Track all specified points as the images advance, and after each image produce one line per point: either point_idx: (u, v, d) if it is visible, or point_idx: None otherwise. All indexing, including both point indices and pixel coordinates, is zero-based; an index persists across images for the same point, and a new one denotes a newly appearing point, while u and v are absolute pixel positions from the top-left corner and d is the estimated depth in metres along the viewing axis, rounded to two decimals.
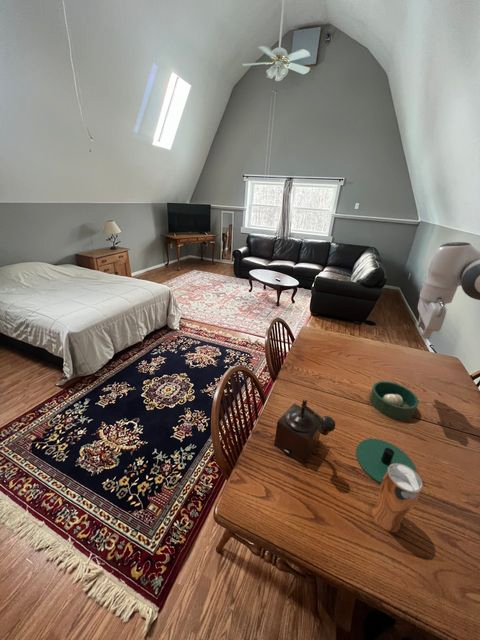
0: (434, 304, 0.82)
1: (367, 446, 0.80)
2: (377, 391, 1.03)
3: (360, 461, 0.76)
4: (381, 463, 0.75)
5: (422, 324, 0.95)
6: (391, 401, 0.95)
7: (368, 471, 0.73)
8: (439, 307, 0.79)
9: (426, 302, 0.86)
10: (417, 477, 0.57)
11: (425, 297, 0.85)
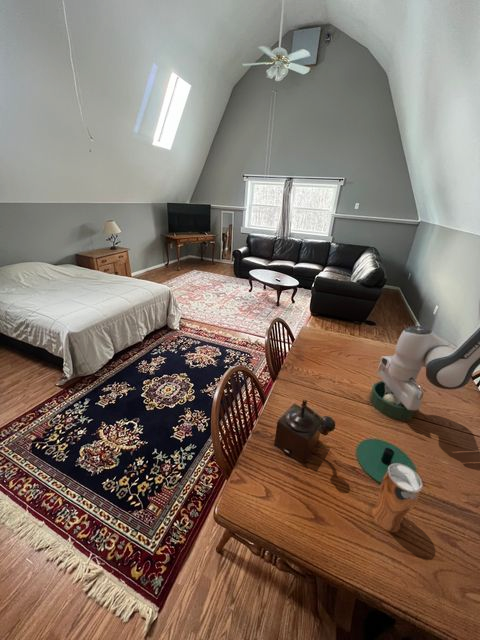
0: (410, 386, 0.87)
1: (367, 446, 0.80)
2: (377, 391, 1.03)
3: (360, 461, 0.76)
4: (381, 463, 0.75)
5: None
6: (391, 401, 0.95)
7: (368, 471, 0.73)
8: (418, 391, 0.84)
9: (398, 380, 0.91)
10: (417, 477, 0.57)
11: (398, 377, 0.90)
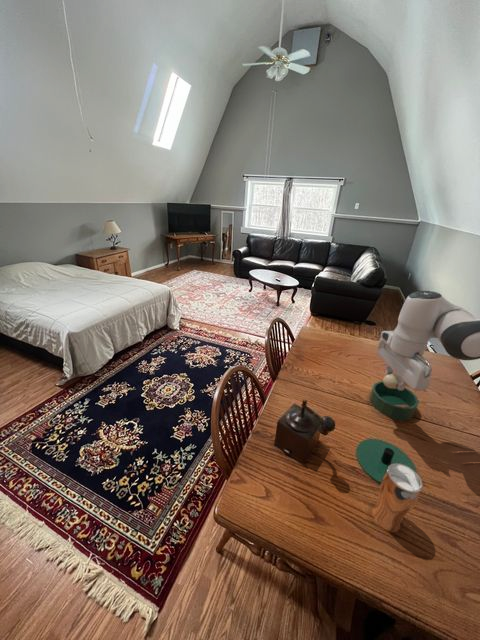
0: (416, 361, 0.73)
1: (367, 446, 0.80)
2: (377, 391, 1.03)
3: (360, 461, 0.76)
4: (381, 463, 0.75)
5: None
6: (393, 382, 0.82)
7: (368, 471, 0.73)
8: (426, 367, 0.71)
9: (401, 356, 0.78)
10: (417, 477, 0.57)
11: (402, 352, 0.76)
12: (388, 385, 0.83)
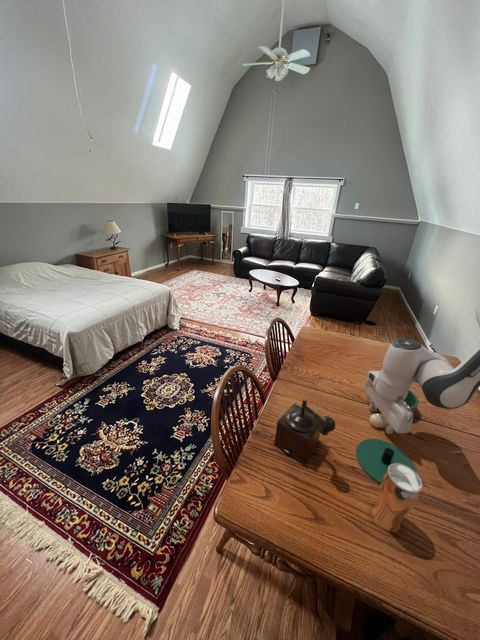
0: (398, 406, 0.78)
1: (367, 446, 0.80)
2: None
3: (360, 461, 0.76)
4: (381, 463, 0.75)
5: (375, 409, 0.92)
6: (378, 422, 0.86)
7: (368, 471, 0.73)
8: (407, 413, 0.75)
9: (385, 399, 0.82)
10: (417, 477, 0.57)
11: (386, 396, 0.80)
12: (373, 425, 0.87)
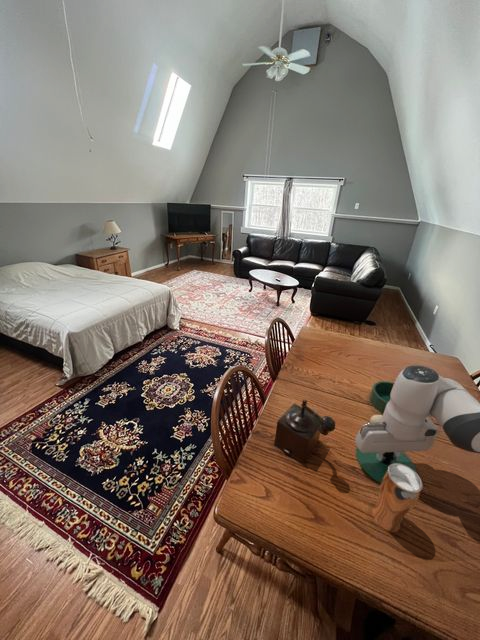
0: None
1: None
2: (377, 391, 1.03)
3: (360, 461, 0.76)
4: (381, 463, 0.75)
5: None
6: None
7: (368, 471, 0.73)
8: None
9: None
10: (417, 477, 0.57)
11: None
12: None
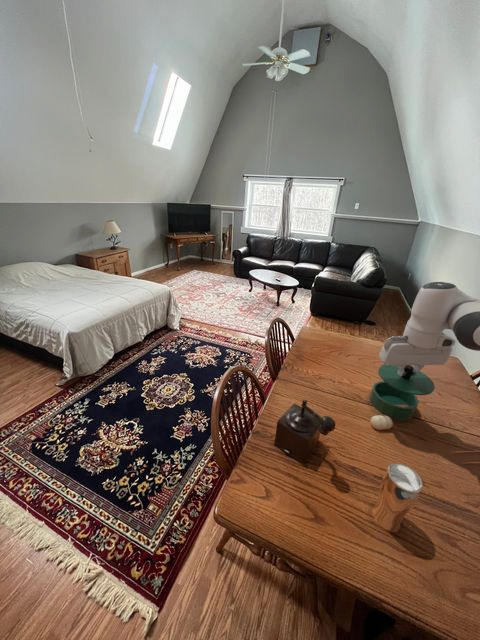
0: None
1: (388, 368, 0.89)
2: (377, 391, 1.03)
3: (383, 377, 0.84)
4: (402, 378, 0.84)
5: None
6: (379, 426, 0.86)
7: (391, 383, 0.82)
8: None
9: None
10: (417, 477, 0.57)
11: None
12: (374, 427, 0.87)
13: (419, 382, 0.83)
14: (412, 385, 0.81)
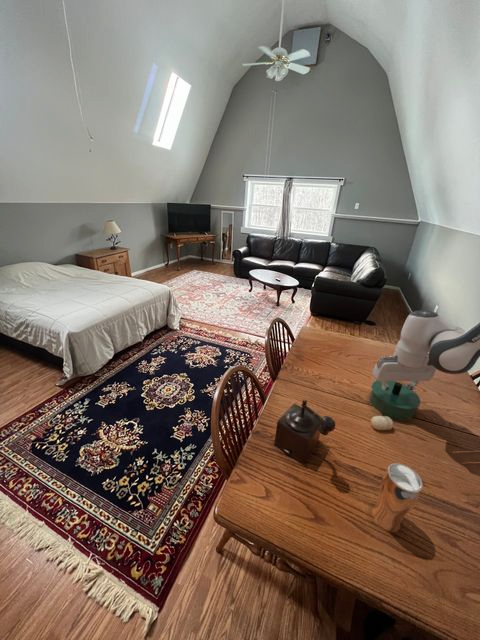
0: None
1: (380, 384, 1.00)
2: None
3: (375, 392, 0.96)
4: (392, 394, 0.95)
5: (409, 386, 0.95)
6: (379, 427, 0.86)
7: (382, 398, 0.93)
8: None
9: None
10: (417, 477, 0.57)
11: None
12: (374, 428, 0.87)
13: (407, 397, 0.94)
14: (401, 400, 0.93)
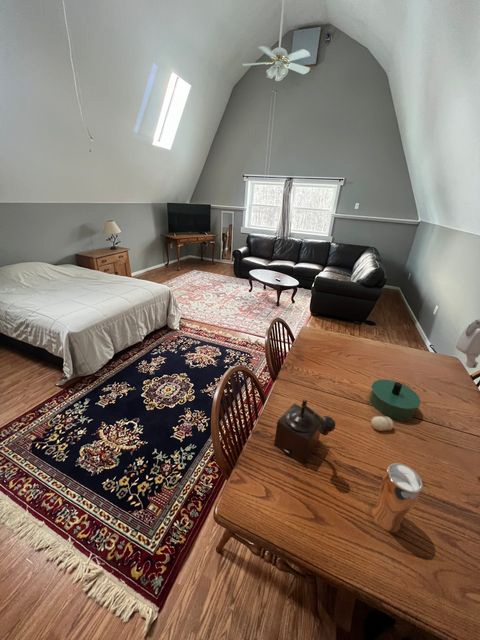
0: None
1: (380, 384, 1.00)
2: None
3: (375, 392, 0.96)
4: (392, 394, 0.95)
5: None
6: (379, 428, 0.86)
7: (382, 398, 0.93)
8: None
9: None
10: (417, 477, 0.57)
11: None
12: (374, 428, 0.87)
13: (407, 397, 0.94)
14: (401, 400, 0.93)
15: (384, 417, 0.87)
